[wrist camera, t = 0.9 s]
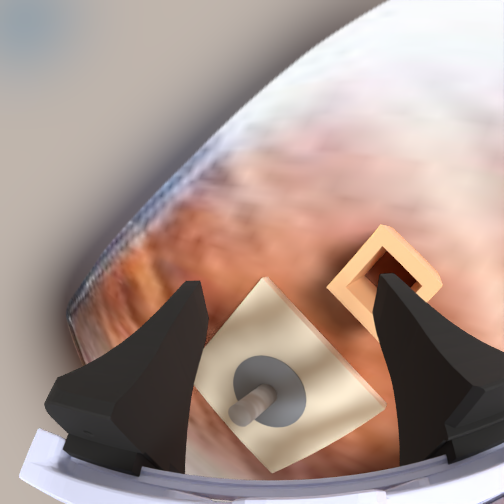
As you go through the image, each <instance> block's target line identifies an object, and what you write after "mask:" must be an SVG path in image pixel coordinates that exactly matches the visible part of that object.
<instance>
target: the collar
mask: <svg viewBox="0 0 504 504" xmlns="http://www.w3.org/2000/svg"><path fill="white" fill-rule="evenodd" d="M386 251H388V252H389V253H390V254H391V255H392V256H393V257H394V258H395V259H396V260H397V261H398V262H399V263H400V264H401V265H402V266H403V267H404V268H405V269H406V270H407V271H408V272H409V273H410V274H411V275H412V276H413V277H414V278H415V279H416V280H417V281H416V282H415V283H414V285H413V286H412V287H411V289H412V290H413V291H414V292H415V293H416V294H418V295H419V296H420V297H421V298H422V299H423V300H424V301H425V302H428V301H429V300H430V299H431V298H432V297H433V296H434V294H435V293H436V292H437V291H438V290H439V289H440V288H441V287H442V286H443V285H442V282H441V279H440V276H439V273H438V272H437V271H436V270H435V269H434V268H433V267H432V266H431V265H430V264H429V263H428V262H427V261H426V260H425V259H424V258H423V257H422V256H421V255H420V254H419V253H418V252H417V251H416V250H415V249H414V248H413V247H412V246H411V245H410V244H409V243H408V242H407V241H406V240H405V239H404V238H403V237H401V236H400V235H399V234H398V233H397V232H396V231H395V230H394V229H393V228H392V227H389V226H386V225H382V224H381V225H380V226H379V227H378V228H377V229H376V231H375V232H374V233H373V234H372V235H371V237H370V238H369V239H368V240H367V241H366V243H365V244H364V245H363V246H362V247H361V248H360V250H359V251H358V252H357V253H356V254H355V255H354V257H353V258H352V259H351V260H350V261H349V262H348V263H347V265H346V266H345V267H344V268H343V269H342V270H341V271H340V272H339V274H338V275H337V276H336V277H335V278H334V279H333V280H332V281H331V282H330V284H329V285H328V286H327V289H328V290H329V291H330V292H331V293H332V294H333V295H334V296H335V297H336V298H337V299H338V300H339V301H340V302H341V303H342V304H343V305H344V306H345V307H346V308H347V309H348V310H349V311H350V312H351V313H352V314H353V315H354V316H355V317H356V318H357V320H358V321H359V322H360V323H361V324H362V325H363V326H364V327H365V328H366V329H367V330H368V331H369V332H370V333H371V334H372V335H373V336H374V337H375V338H376V339H377V341H378V342H379V339H378V336H377V333H376V329H375V324H374V319H373V314H372V311H373V306H374V302H375V297H376V292H377V287H376V286H375V285H374V284H373V283H372V282H371V281H370V280H369V279H368V278H367V277H366V276H365V275H366V274H367V272H368V271H369V270H370V269H371V268H372V267H373V266H374V265H375V263H376V262H377V261H378V260H379V259H380V258H381V257H382V255H383V254H384V253H385V252H386ZM379 343H380V342H379Z"/></svg>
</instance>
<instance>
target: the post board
mask: <svg viewBox="0 0 504 504" xmlns="http://www.w3.org/2000/svg"><path fill="white" fill-rule="evenodd" d="M194 385H195V387H196V388H197V389H198V391H199V392H200V393H201V394H202V396H203V397H204V398H205V399H206V401H207V402H208V403H209V404H210V405H211V407H212V408H213V409H214V410H215V412H216V413H217V414H218V415H219V416H220V417H221V419H222V420H223V421H224V422H225V423H226V424H227V426H228V427H229V428H230V429H231V430H232V431H233V432H234V434H235V435H236V436H237V437H238V438H239V439H240V440H241V441H242V443H243V444H244V445H245V446H246V447H247V448H248V449H249V450H250V451H251V452H252V453H253V454H254V455H255V456H256V458H257V459H258V460H259V461H260V462H261V463H262V464H263V465H264V466H265V467H266V468H267V469H268V470H269V471H270V472H271V473H274V472H276V471H278V470H280V469H283V468H285V467H287V466H289V465H291V464H293V463H295V462H297V461H299V460H301V459H303V458H305V457H307V456H309V455H311V454H313V453H315V452H317V451H318V450H320V449H322V448H324V447H326V446H327V445H329V444H331V443H333V442H334V441H336V440H338V439H340V438H341V437H343V436H345V435H346V434H348V433H350V432H351V431H353V430H354V429H356V428H358V427H359V426H361V425H362V424H364V423H365V422H367V421H368V420H370V419H371V418H373V417H374V416H376V415H377V414H379V413H380V412H382V411H383V410H385V408H386V405H387V403H386V402H385V401H384V400H383V399H382V398H381V397H380V396H379V395H378V394H377V393H376V391H375V390H374V389H373V388H372V387H371V386H370V385H369V384H368V383H367V382H366V381H365V380H364V379H363V378H362V377H361V376H360V375H359V373H358V372H357V371H356V370H355V369H354V368H353V367H352V366H351V365H350V364H349V363H348V362H347V361H346V360H345V359H344V358H343V357H342V355H341V354H340V353H339V352H338V351H337V350H336V349H335V348H334V347H333V346H332V345H331V344H330V343H329V342H328V341H327V339H326V338H325V337H324V336H323V335H322V334H321V333H320V332H319V331H318V330H317V329H316V328H315V327H314V326H313V325H312V323H311V322H310V321H309V320H308V319H307V318H306V317H305V316H304V315H303V314H302V313H301V312H300V311H299V310H298V309H297V307H296V306H295V305H294V304H293V303H292V302H291V301H290V300H289V299H288V298H287V297H286V296H285V295H284V294H283V293H282V291H281V290H280V289H279V288H278V287H277V286H276V285H275V284H274V283H273V282H272V281H271V280H270V279H269V277H264V278H262V279H261V280H260V281H259V282H258V283H257V285H256V286H255V287H254V288H253V290H252V291H251V292H250V293H249V294H248V296H247V297H246V298H245V299H244V301H243V302H242V303H241V304H240V305H239V307H238V308H237V309H236V310H235V312H234V313H233V314H232V315H231V316H230V318H229V319H228V320H227V321H226V322H225V324H224V325H223V326H222V327H221V328H220V330H219V331H218V332H217V333H216V334H215V336H214V337H213V338H212V339H211V340H210V342H209V343H208V344H207V345H206V346H205V348H204V349H203V352H202V356H201V360H200V363H199V367H198V371H197V374H196V378H195V382H194Z"/></svg>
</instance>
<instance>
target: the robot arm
mask: <svg viewBox="0 0 504 504" xmlns="http://www.w3.org/2000/svg"><path fill="white" fill-rule="evenodd" d="M372 314H373V319H374V324H375V329H376V333H377V336H378V339H379V342H380V345H381V349H382V352H383V355H384V358H385V361H386V364H387V367H388V370H389V373H390V377H391V381H392V385H393V390H394V396H395V402H396V410H397V418H398V429H399V445H400V467H396V468H391V469H386V470H381V471H375V472H369V473H363V474H356V475H349V476H341V477H331V478H320V479H305V480H238V479H224V478H212V477H203V476H195V475H187V474H185V454H186V440H187V428H188V419H189V411H190V403H191V396H192V390H193V386H194V382H195V378H196V374H197V371H198V367H199V363H200V360H201V356H202V352H203V349H204V345H205V341H206V335H207V328H208V320H209V317H208V313H207V308H206V304H205V300H204V295H203V291H202V286H201V282H200V281H185V282H184V283H183V285H182V286H181V287H180V288H179V289H178V290H177V291H176V292H175V293H174V294H173V295H172V296H171V297H170V299H169V300H168V301H167V302H166V303H165V304H164V305H163V306H162V307H161V308H160V309H159V310H158V311H157V312H156V313H155V314H154V315H153V316H152V317H151V318H150V319H149V320H148V321H147V322H146V323H145V324H144V325H143V326H142V327H140V328H139V329H138V330H137V331H136V332H135V333H133V334H132V335H131V336H130V337H128V338H127V339H126V340H125V341H123V342H122V343H121V344H119V345H118V346H116V347H115V348H113V349H112V350H110V351H109V352H107V353H106V354H104V355H103V356H101V357H99V358H97V359H96V360H94V361H92V362H90V363H88V364H87V365H85V366H83V367H81V368H79V369H76V370H74V371H72V372H70V373H68V374H65V375H63V376H60V377H58V378H57V380H56V381H55V383H54V385H53V387H52V389H51V391H50V393H49V395H48V397H47V399H46V401H45V404H44V405H45V409H46V410H47V412H48V414H49V415H50V416H51V417H52V418H53V419H54V420H55V421H56V422H57V423H58V424H59V425H60V426H61V427H62V428H63V429H64V430H65V431H66V432H67V433H68V436H67V439H64V438H63V437H61V436H58V435H56V434H54V433H51V432H49V431H46V430H43V429H41V428H39V429H38V431H37V433H36V435H35V438H34V440H33V442H32V444H31V447H30V449H29V451H28V454H27V456H26V459H25V461H24V464H23V467H22V469H21V472H20V474H19V477H20V479H22V480H24V481H25V482H27V483H29V484H30V485H32V486H34V487H35V488H37V489H39V490H41V491H43V492H44V493H46V494H48V495H50V496H51V497H53V498H55V499H57V500H59V501H61V502H64V503H66V504H504V352H502V351H500V350H498V349H496V348H494V347H491V346H489V345H487V344H485V343H484V342H482V341H480V340H478V339H476V338H475V337H473V336H471V335H470V334H468V333H466V332H465V331H463V330H462V329H460V328H459V327H457V326H456V325H454V324H453V323H452V322H450V321H449V320H447V319H446V318H445V317H444V316H442V315H441V314H440V313H439V312H437V311H436V310H435V309H434V308H432V307H431V306H430V305H429V304H428V303H427V302H425V301H424V300H423V299H422V298H421V297H420V296H419V295H418V294H416V293H415V292H414V291H413V290H412V289H411V288H410V287H409V286H408V285H407V284H406V283H404V282H403V281H402V280H401V279H400V278H399V277H398V276H396V275H395V274H394V273H389V274H380V276H379V282H378V287H377V292H376V297H375V302H374V306H373V311H372ZM211 499H219V500H230V501H233V502H217V501H212V500H211Z"/></svg>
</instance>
